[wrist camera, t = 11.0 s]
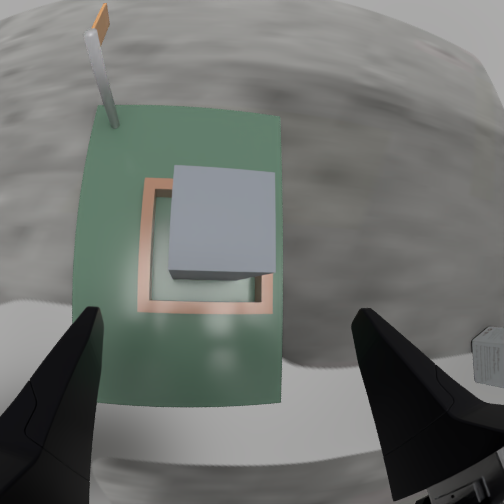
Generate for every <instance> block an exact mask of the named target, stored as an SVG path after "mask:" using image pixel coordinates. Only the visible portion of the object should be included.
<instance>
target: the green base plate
mask: <svg viewBox="0 0 504 504" xmlns="http://www.w3.org/2000/svg"><path fill="white" fill-rule="evenodd" d="M109 25H110V22H109V16H108V9H107V3H104V4H103V6H102V8H101V10H100V12H99V14H98V16H97V18H96V20H95V22H94V24H93V26H92V28H91V29H88V30H86V31H85V32H84V34H83V36H84V40H85V44H86V47H87V51H88V55H89V58H90V62H91V65H92V69H93V72H94V75H95V79H96V82H97V85H98V88H99V92H100V95H101V98H102V101H103V104H104V105H98V108H97V112H96V116H95V120H94V124H93V128H92V133H91V137H90V142H89V147H88V152H87V157H86V162H85V168H84V174H83V180H82V186H81V193H80V200H79V208H78V216H77V226H76V236H75V249H74V264H73V291H72V316H73V317H72V324H73V323H74V321H75V320H76V319H77V318H78V316H79V315H80V314H81V313H82V312H83V310H84V309H85V308H86V307H87V306H97V307H99V308H100V310H101V314H102V318H103V322H104V337H103V352H102V369H101V377H100V384H99V390H98V397H97V402H98V403H107V404H118V405H132V406H152V407H225V406H243V405H244V406H245V405H259V404H271V403H280V402H281V377H282V323H283V218H282V162H281V128H280V117H279V116H272V115H265V114H258V113H250V112H242V111H233V110H223V109H212V108H199V107H184V106H161V105H115V104H114V100H113V96H112V92H111V88H110V85H109V81H108V77H107V72H106V68H105V64H104V60H103V56H102V51H101V45H102V42H103V40H104V37H105V35H106V32H107V30H108V27H109ZM174 165H185V166H202V167H217V168H230V169H243V170H254V171H264V172H274V173H275V213H276V273H271V274H266V275H261V276H256V277H251V278H246V279H241V280H236V281H231V280H190V279H172V277H171V275H170V272H169V270H168V259H169V235H170V217H171V202H172V188H173V176H174Z"/></svg>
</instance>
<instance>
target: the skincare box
mask: <svg viewBox="0 0 504 504" xmlns="http://www.w3.org/2000/svg"><path fill="white" fill-rule="evenodd" d="M472 349H473V366H474V379H475V382H477V383H481V384H486V385H491V386H496V387H500V388H504V327H488V328H487V329H485V330H484V331H483V332H482V333H480V334H479V335H478V336H477V337H475V338H474V339H473V340H472Z"/></svg>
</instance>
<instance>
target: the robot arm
mask: <svg viewBox="0 0 504 504" xmlns="http://www.w3.org/2000/svg"><path fill="white" fill-rule="evenodd" d="M351 329H352V334H353V339H354V344H355V349H356V355H357V360H358V364H359V368H360V371H361V375H362V378H363V382H364V385H365V388H366V392H367V395H368V399H369V403H370V407H371V410H372V414H373V418H374V421H375V425H376V429H377V433H378V437H379V441H380V445H381V449H382V453H383V456H384V457H383V458H384V462H385V466H386V471H387V475H388V479H389V484H390V489H391V493H392V498H393V501H397V500H400V499H402V498H405V497H408V496H410V495H413V494H415V493H417V492H420V491H422V490H424V489H427V492H428V495H427V496H425V497H423V498H421V499H419V500H417V501H416V503H415V504H504V405H498V404H490V403H486V402H483V401H482V400H480V399H478V398H477V397H475V396H474V395H473V394H472V393H470V392H469V391H468V390H466V389H465V388H464V387H462V386H461V385H460V384H458V383H457V382H456V381H455V380H453V379H452V378H451V377H450V376H448V375H447V374H446V373H445V372H444V371H443V370H442V369H441V368H439V367H438V366H437V365H435V363H434V362H433V361H431V360H430V359H429V358H428V357H427V356H426V355H425V354H424V353H422V352H421V351H420V350H419V349H418V348H417V347H416V346H414V345H413V344H412V343H411V342H410V341H409V340H407V339H406V338H405V337H404V336H403V335H402V334H401V333H399V332H398V331H397V330H396V329H395V328H394V327H392V326H391V325H390V324H389V323H388V322H387V321H385V320H384V319H383V318H382V317H381V316H380V315H378V314H377V313H376V312H375V311H374V310H372V309H371V308H361V309H360V310H359V311H358V313H357V315H356V316H355V318H354V320H353V322H352V325H351ZM103 337H104V322H103V318H102V314H101V310H100V308H99V307H97V306H87V307H86V308H85V309H84V310H83V312H82V313H81V314H80V315H79V316H78V318H77V319H76V320H75V321H74V323H73V324H72V325H71V326H70V328H69V329H68V330H67V331H66V333H65V334H64V335H63V336H62V337H61V339H60V340H59V341H58V342H57V344H56V345H55V346H54V348H53V349H52V350H51V352H50V353H49V354H48V355H47V357H46V358H45V359H44V361H43V362H42V363H41V365H40V366H39V367H38V369H37V370H36V371H35V373H34V374H33V375H32V377H31V378H30V381H28V382H27V383H26V385H25V386H24V388H23V389H22V390H21V392H20V393H19V394H18V396H17V397H16V398H15V400H14V401H13V402H12V403H11V405H10V406H9V407H8V408H7V409H6V410H5V412H4V413H3V414H2V415H1V416H0V504H89V488H90V487H89V486H90V482H89V481H90V466H91V452H92V440H93V430H94V420H95V412H96V405H97V397H98V390H99V384H100V377H101V369H102V352H103Z"/></svg>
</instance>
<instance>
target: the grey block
mask: <svg viewBox="0 0 504 504" xmlns="http://www.w3.org/2000/svg"><path fill="white" fill-rule="evenodd" d="M168 270H169V272H170V275H171V277H172V279H190V280H231V281H236V280H241V279H246V278H251V277H256V276H261V275H266V274H271V273H276V213H275V173H274V172H264V171H254V170H243V169H230V168H217V167H202V166H185V165H174V176H173V188H172V202H171V217H170V235H169V259H168Z"/></svg>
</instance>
